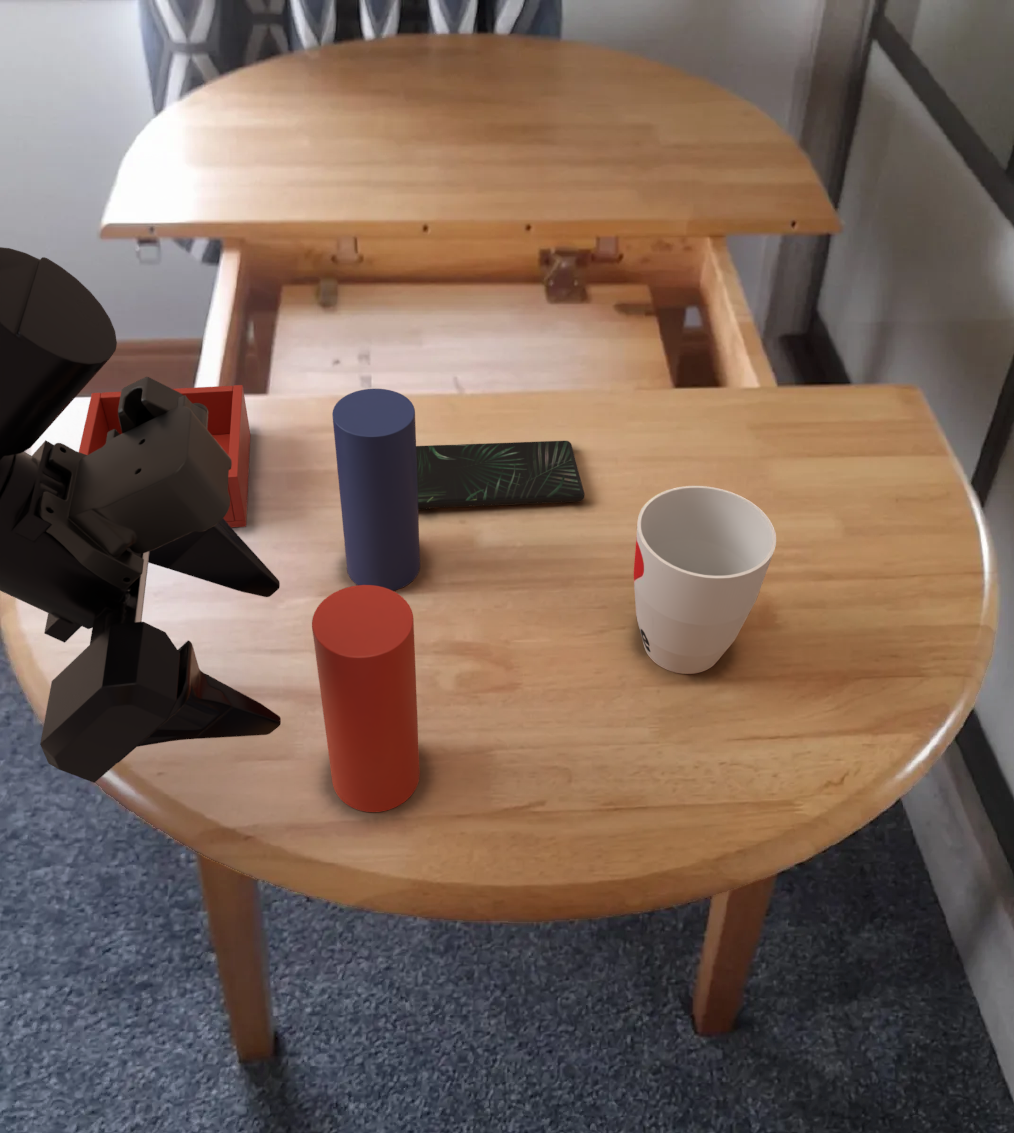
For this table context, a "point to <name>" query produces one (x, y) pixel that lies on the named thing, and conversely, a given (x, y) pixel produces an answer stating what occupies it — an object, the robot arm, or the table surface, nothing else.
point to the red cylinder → (368, 695)
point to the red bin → (223, 425)
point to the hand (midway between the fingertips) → (275, 654)
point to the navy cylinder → (378, 486)
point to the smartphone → (497, 474)
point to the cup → (697, 573)
